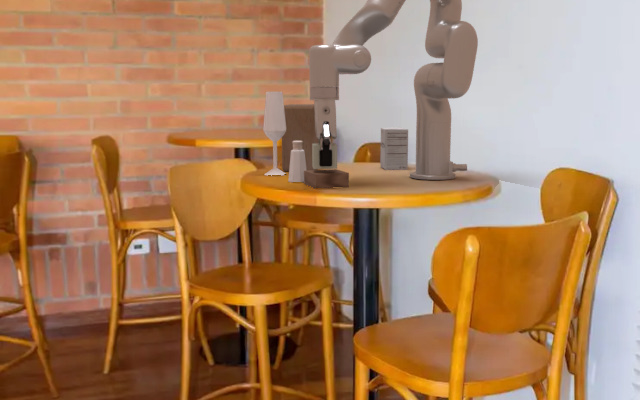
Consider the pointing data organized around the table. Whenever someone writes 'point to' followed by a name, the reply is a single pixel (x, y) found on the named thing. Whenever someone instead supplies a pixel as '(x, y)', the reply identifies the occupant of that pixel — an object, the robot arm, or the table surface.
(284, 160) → the block
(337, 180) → the walnut block
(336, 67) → the robot arm
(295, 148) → the pepper shaker
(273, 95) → the champagne flute
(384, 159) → the supplement box
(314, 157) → the sage block
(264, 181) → the table surface
